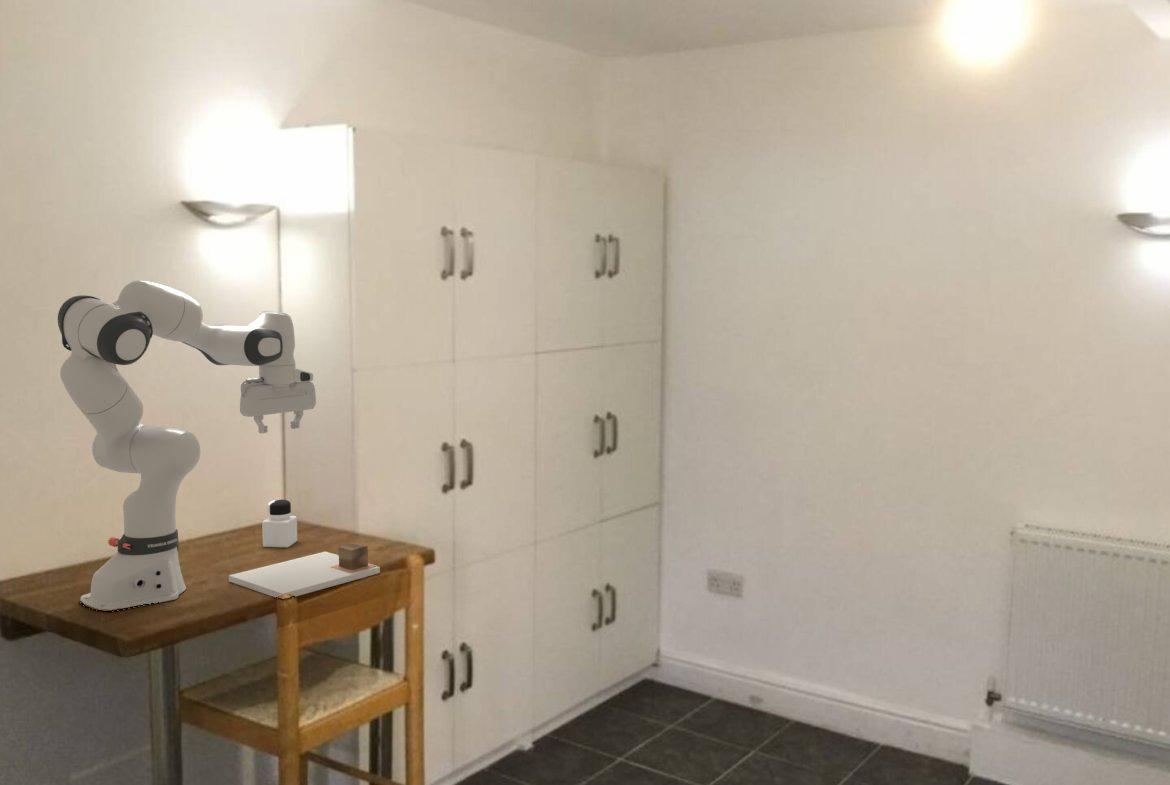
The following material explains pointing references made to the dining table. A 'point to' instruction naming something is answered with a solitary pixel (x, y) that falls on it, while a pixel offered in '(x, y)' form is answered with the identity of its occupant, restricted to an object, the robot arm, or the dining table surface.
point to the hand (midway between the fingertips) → (279, 430)
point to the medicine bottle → (279, 525)
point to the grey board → (301, 575)
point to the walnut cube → (353, 556)
